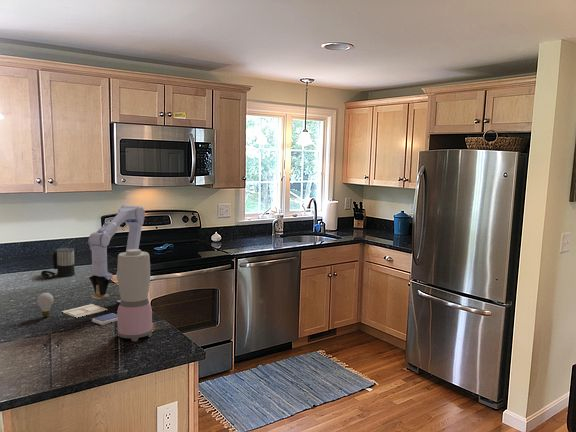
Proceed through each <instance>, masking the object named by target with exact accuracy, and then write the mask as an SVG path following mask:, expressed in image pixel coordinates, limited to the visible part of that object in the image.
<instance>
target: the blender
mask: <svg viewBox="0 0 576 432" xmlns="http://www.w3.org/2000/svg"><path fill="white" fill-rule="evenodd" d="M150 258H151V257H150V253H149V252H147V251H142V249H129V250H125V252H123V251H122V252H120V253H119V254H117V268H116V270H117V271H116V273H117V272H118V280H117V285H118V286H117V287H118V291H119V295H120V300H121V302H120V303H119V305H118V307H117V311H116V312H117V313H116V315H117V321H116V323H117V336H119V337H120V338H122V339H131V342H132V341H134V342H138V341H139V338H144V337H147V338H150V337H152V335H153V311H152V310H153V309H152V305H151V303H150V301H149V291H150V283H151V262H150V260H151V259H150Z"/></svg>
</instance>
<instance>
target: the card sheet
mask: <svg viewBox="0 0 576 432" xmlns="http://www.w3.org/2000/svg"><path fill="white" fill-rule="evenodd" d="M105 310H106V311H108V310H109V309H108V308H105V307H102V306H99V305H96V304H94V303H90V304H87V305H82V306H79V307H74V308H70V309H65V310H62V311H61V313H62V312H63V313H62V314H65V315H67V316H70V317H73V318H75V317H76V319H78V317H79V318H82V316H83V317H86V315H87V316H89V315H93V314H96V313H101V312H104V311H105Z"/></svg>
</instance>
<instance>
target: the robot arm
mask: <svg viewBox="0 0 576 432" xmlns="http://www.w3.org/2000/svg"><path fill="white" fill-rule="evenodd" d="M117 212H118V213H117V214H116V215H115V216H114V218H113V219H112V220H111V221H105V222H104V224H103V225H102V226H100V228H98V230H97V231H96V232H95V231H94V232H91V234H90V235H89V236H88V240H87V243H88V245H89V250H90V251H91V265H92V267H91V269H87V275H89V277H88V279H89V281H90V283H91V284H92V288H93V291H94V294H96V285H97V284H98V285H99V291H100V295H104V294H107V290H108V287H109V284H110V282H111V280H113V276H114V275H113V273H111V272H109V271H108V250H107V249H108V248H107V247H108V246H109V245H110V241H111V239H112V237H113V236H114V235H115V234H116V233H117V232H118V227H119V226H120V225H122V224H123V223H125V224H126V225H128V227H129V229H128V235H127V243H126V247H125V249H126V250H129V249H139V247H140V241H141V235H142V234H141V233H142V228H143V225H144V221H145V216H146V211H145V209H144V208H143V206H141V205H123V204H122V205H121V206H120V207H119V208H118V211H117ZM126 250H125V251H126ZM115 275H116V276H115V277H116V279H117V281H118V272H117V271H116V273H115ZM116 302H117V303H119V304H120V302H121V299H119V300H117V301H116Z"/></svg>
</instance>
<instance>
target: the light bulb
mask: <svg viewBox="0 0 576 432" xmlns="http://www.w3.org/2000/svg"><path fill="white" fill-rule="evenodd" d="M36 303H37V305H38V306H39V307H40V310H41V313H42V314H41V315H42V316H43V317H45V318H47V317H49V316H50V311H51V307H52V305H53V304H54V296H53V295H52V294H51V293H49V292H43V293H41V294H39V296H38V297H37V299H36Z"/></svg>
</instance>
